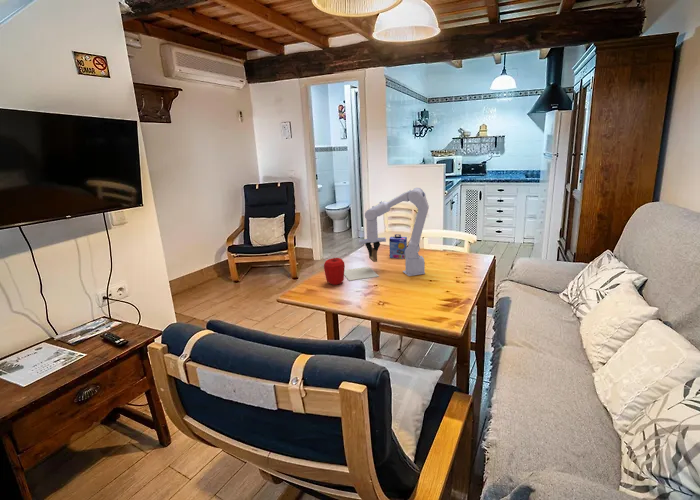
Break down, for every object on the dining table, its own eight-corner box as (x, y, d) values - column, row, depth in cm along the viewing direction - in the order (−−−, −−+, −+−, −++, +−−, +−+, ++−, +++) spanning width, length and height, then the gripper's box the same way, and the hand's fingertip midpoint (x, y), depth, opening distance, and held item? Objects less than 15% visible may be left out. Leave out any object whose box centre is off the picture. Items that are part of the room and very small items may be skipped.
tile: (372, 257, 211) (372, 247, 209) (377, 261, 203) (376, 250, 201) (369, 257, 210) (368, 247, 208) (373, 262, 203) (373, 251, 201)
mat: (369, 267, 214) (369, 266, 214) (378, 276, 199) (378, 275, 199) (341, 271, 210) (341, 270, 210) (349, 281, 195) (349, 280, 195)
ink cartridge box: (389, 258, 228) (388, 234, 224) (390, 255, 233) (390, 232, 229) (406, 259, 225) (405, 235, 221) (407, 256, 230) (406, 232, 226)
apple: (331, 278, 200) (329, 253, 196) (349, 280, 195) (347, 255, 191) (321, 285, 191) (319, 259, 187) (339, 288, 186) (337, 261, 182)
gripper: (382, 228, 208) (383, 252, 211) (356, 231, 204) (357, 255, 208) (387, 231, 201) (387, 255, 205) (360, 233, 198) (361, 259, 201)
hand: (372, 255), depth 206 cm, fingers closed on tile, 2 cm apart
